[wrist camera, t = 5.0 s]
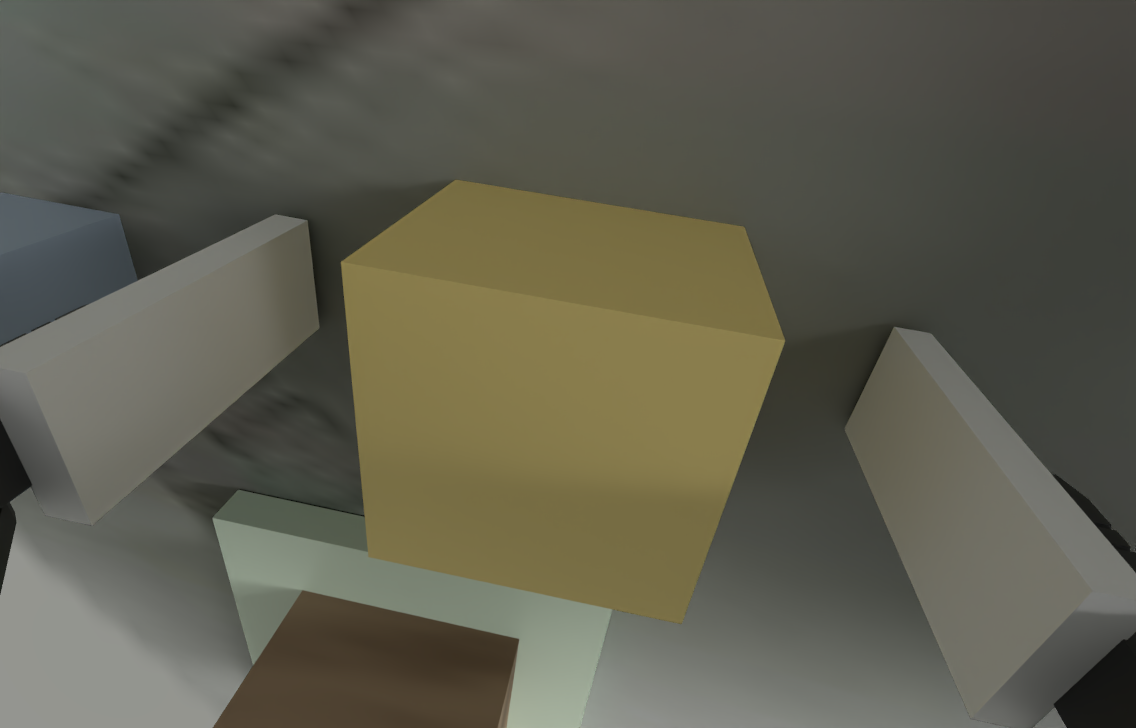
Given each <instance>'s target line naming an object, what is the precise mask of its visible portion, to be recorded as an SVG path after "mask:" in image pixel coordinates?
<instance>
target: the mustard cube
mask: <svg viewBox="0 0 1136 728" xmlns="http://www.w3.org/2000/svg"><path fill="white" fill-rule="evenodd" d="M341 270H342V281H343V291H344V302H345V313H346V323H347V334H348V345H349V355H350V366H351V377H352V387H353V398H354V408H355V419H356V430H357V440H358V451H359V462H360V472H361V483H362V494H363V504H364V515H365V526H366V536H367V547H368V557H370V558H375V559H380V560H384V561H389V562H394V563H398V564H403V565H408V566H412V567H417V568H422V569H426V570H431V571H436V572H440V573H445V574H450V575H454V576H459V577H464V578H468V579H473V580H478V581H482V582H487V583H492V584H496V585H501V586H506V587H510V588H515V589H520V590H524V591H529V592H534V593H538V594H543V595H548V596H552V597H557V598H562V599H566V600H571V601H576V602H580V603H585V604H590V605H594V606H599V607H603V608H608V609H613V610H617V611H622V612H627V613H631V614H636V615H641V616H645V617H650V618H655V619H659V620H664V621H669V622H673V623H678V624H682V622H683V619H684V616H685V613H686V611H687V608H688V605H689V603H690V600H691V597H692V594H693V592H694V589H695V586H696V583H697V581H698V578H699V575H700V573H701V570H702V567H703V564H704V562H705V559H706V556H707V553H708V551H709V548H710V545H711V543H712V540H713V537H714V534H715V532H716V529H717V526H718V523H719V521H720V518H721V515H722V513H723V510H724V507H725V504H726V502H727V499H728V496H729V493H730V491H731V488H732V485H733V482H734V480H735V477H736V474H737V472H738V469H739V466H740V463H741V461H742V458H743V455H744V452H745V450H746V447H747V444H748V442H749V439H750V436H751V433H752V431H753V428H754V425H755V422H756V420H757V417H758V414H759V412H760V409H761V406H762V403H763V401H764V398H765V395H766V392H767V390H768V387H769V384H770V382H771V379H772V376H773V373H774V371H775V368H776V365H777V362H778V360H779V357H780V354H781V351H782V349H783V346H784V343H785V338H784V336H783V333H782V330H781V327H780V324H779V322H778V319H777V316H776V313H775V311H774V308H773V305H772V302H771V299H770V297H769V294H768V291H767V288H766V286H765V283H764V280H763V277H762V274H761V272H760V269H759V266H758V263H757V261H756V258H755V255H754V252H753V249H752V247H751V244H750V241H749V238H748V236H747V233H746V230H745V227H742V226H736V225H730V224H724V223H718V222H712V221H706V220H700V219H694V218H687V217H681V216H675V215H669V214H663V213H657V212H651V211H645V210H639V209H633V208H626V207H620V206H614V205H608V204H602V203H596V202H590V201H584V200H578V199H571V198H565V197H559V196H553V195H547V194H541V193H535V192H529V191H523V190H516V189H510V188H504V187H498V186H492V185H486V184H480V183H474V182H468V181H461V180H454V181H453V182H452V183H450V184H449V185H447V186H446V187H445V188H443V189H442V190H440V191H439V192H438V193H436V194H435V195H434V196H432V197H431V198H429V199H428V200H427V201H425V202H424V203H422V204H421V205H420V206H418V207H417V208H415V209H414V210H413V211H411V212H410V213H408V214H407V215H406V216H404V217H403V218H401V219H400V220H399V221H397V222H396V223H394V224H393V225H392V226H390V227H389V228H387V229H386V230H385V231H383V232H382V233H380V234H379V235H378V236H376V237H375V238H373V239H372V240H371V241H369V242H368V243H367V244H365V245H364V246H362V247H361V248H360V249H358V250H357V251H355V252H354V253H353V254H351V255H350V256H348V257H347V258H346V259H344V260H343V261H341Z"/></svg>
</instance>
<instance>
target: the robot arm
mask: <svg viewBox="0 0 1136 728" xmlns="http://www.w3.org/2000/svg"><path fill="white" fill-rule="evenodd" d="M318 329H319V319H318V310H317V301H316V291H315V282H314V273H313V264H312V255H311V246H310V237H309V228H308V220H303V219H298V218H292V217H287V216H281V215H276V214H275V215H273V216H271V217H269V218H267V219H265V220H263V221H261V222H258V223H256V224H254V225H252V226H250V227H248V228H246V229H244V230H242V231H240V232H238V233H236V234H234V235H232V236H229V237H227V238H225V239H223V240H221V241H219V242H217V243H215V244H213V245H211V246H209V247H207V248H205V249H203V250H200V251H198V252H196V253H194V254H192V255H190V256H188V257H186V258H184V259H182V260H180V261H178V262H176V263H173V264H171V265H169V266H167V267H165V268H163V269H161V270H159V271H157V272H155V273H153V274H151V275H149V276H147V277H144V278H142V279H140V280H138V281H136V282H134V283H132V284H130V285H128V286H126V287H124V288H122V289H120V290H118V291H115V292H113V293H111V294H109V295H107V296H105V297H103V298H101V299H99V300H97V301H95V302H93V303H90V304H86V305H83V306H81V307H79V308H77V309H75V310H72V311H70V312H68V313H66V314H64V315H62V316H60V317H58V318H56V319H55V321H53V322H47V323H45V324H43V325H41V326H39V327H37V328H35V329H33V330H31V332H30V333H28V334H27V333H24V334H22V335H20V336H18V337H16V338H14V339H12V340H10V341H8V342H6V343H4V344H2V345H0V593H1V589H2V584H3V580H4V575H5V571H6V566H7V561H8V558H9V553H10V549H11V544H12V540H13V535H14V531H15V526H16V517H15V512H14V510H13V508H12V506H11V504H10V501H11V500H13V499H14V498H15V497H17V496H18V495H19V494H21V493H22V492H24V491H25V490H26V489H28V488H29V487H31V488H32V490H33V492H34V494H35V496H36V498H37V500H38V502H39V504H40V506H41V508H42V511H43V513H44V515H45V516H49V517H54V518H58V519H63V520H67V521H72V522H77V523H81V524H86V525H90V526H93V525H94V524H95V523H96V522H97V521H98V520H99V519H101V518H102V517H103V516H104V515H105V514H106V513H107V512H109V511H110V510H111V509H112V508H113V507H114V506H115V505H117V504H118V503H119V502H120V501H121V500H122V499H124V498H125V497H126V496H127V495H128V494H129V493H130V492H132V491H133V490H134V489H135V488H136V487H137V486H138V485H140V484H141V483H142V482H143V481H144V480H145V479H147V478H148V477H149V476H150V475H151V474H152V473H153V472H155V471H156V470H157V469H158V468H159V467H160V466H161V465H163V464H164V463H165V462H166V461H167V460H168V459H169V458H171V457H172V456H173V455H174V454H175V453H176V452H178V451H179V450H180V449H181V448H182V447H183V446H184V445H186V444H187V443H188V442H189V441H190V440H191V439H192V438H194V437H195V436H196V435H197V434H198V433H199V432H201V431H202V430H203V429H204V428H205V427H206V426H207V425H209V424H210V423H211V422H212V421H213V420H214V419H215V418H217V417H218V416H219V415H220V414H221V413H222V412H223V411H225V410H226V409H227V408H228V407H229V406H230V405H232V404H233V403H234V402H235V401H236V400H237V399H238V398H240V397H241V396H242V395H243V394H244V393H245V392H246V391H248V390H249V389H250V388H251V387H252V386H253V385H255V384H256V383H257V382H258V381H259V380H260V379H261V378H263V377H264V376H265V375H266V374H267V373H268V372H269V371H271V370H272V369H273V368H274V367H275V366H276V365H277V364H279V363H280V362H281V361H282V360H283V359H284V358H286V357H287V356H288V355H289V354H290V353H291V352H292V351H294V350H295V349H296V348H297V347H298V346H299V345H300V344H302V343H303V342H304V341H305V340H306V339H307V338H309V337H310V336H311V335H312V334H313V333H314V332H315V331H317V330H318ZM844 430H845V432H846V434H847V436H848V439H849V441H850V443H851V446H852V448H853V450H854V452H855V455H856V457H857V459H858V462H859V464H860V466H861V469H862V471H863V473H864V475H865V478H866V480H867V482H868V485H869V487H870V489H871V491H872V494H873V496H874V498H875V501H876V503H877V505H878V507H879V510H880V512H881V514H882V517H883V519H884V521H885V524H886V526H887V528H888V530H889V533H890V535H891V537H892V540H893V542H894V544H895V546H896V549H897V551H898V553H899V556H900V558H901V560H902V563H903V565H904V567H905V569H906V572H907V574H908V576H909V579H910V581H911V583H912V585H913V588H914V590H915V592H916V595H917V597H918V599H919V601H920V604H921V606H922V608H923V611H924V613H925V615H926V618H927V620H928V622H929V624H930V627H931V629H932V631H933V634H934V636H935V638H936V640H937V643H938V645H939V647H940V650H941V652H942V654H943V657H944V659H945V661H946V663H947V666H948V668H949V670H950V673H951V675H952V677H953V679H954V682H955V684H956V686H957V689H958V691H959V693H960V695H961V698H962V700H963V702H964V705H965V707H966V709H967V712H968V714H969V716H970V718H971V719H973V720H978V721H982V722H987V723H991V724H996V725H1000V726H1005V727H1009V728H1033V727H1034V726H1035V725H1036V724H1037V723H1038V722H1039V721H1040V720H1041V719H1042V718H1043V717H1044V716H1045V715H1047V714H1048V713H1049V712H1050V711H1051V710H1052V709H1053V708H1054V707H1055V708H1056V710H1057V711H1058V713H1059V715H1060V717H1061V718H1062V720H1063V722H1064V724H1065V725H1066V727H1067V728H1136V553H1135V552H1130V546H1129V545H1128V543H1127V542H1126V541H1125V540H1124V539H1123V538H1122V537H1121V536H1120V534H1119V533H1118V532H1117V531H1116V530H1111V524H1110V523H1109V522H1108V521H1107V520H1106V519H1105V518H1104V516H1103V515H1102V514H1101V513H1100V512H1099V511H1098V510H1097V509H1096V507H1095V506H1094V505H1093V504H1092V503H1091V502H1090V501H1089V499H1087V498H1086V497H1085V496H1083V495H1082V494H1081V493H1079V492H1078V491H1077V490H1075V489H1074V488H1073V487H1071V486H1070V485H1069V484H1067V483H1066V482H1065V481H1063V480H1062V479H1061V478H1059V477H1058V476H1057V475H1054V474H1051V473H1050V472H1049V471H1048V470H1047V468H1046V467H1045V466H1044V465H1043V464H1042V463H1041V461H1040V460H1039V459H1038V458H1037V457H1036V456H1035V454H1034V453H1033V452H1032V451H1031V450H1030V449H1029V447H1028V446H1027V445H1026V444H1025V443H1024V442H1023V440H1022V439H1021V438H1020V437H1019V436H1018V434H1017V433H1016V432H1015V431H1014V430H1013V429H1012V427H1011V426H1010V425H1009V424H1008V423H1007V422H1006V420H1005V419H1004V418H1003V417H1002V416H1001V415H1000V413H999V412H998V411H997V410H996V409H995V408H994V406H993V405H992V404H991V403H990V402H989V401H988V399H987V398H986V397H985V396H984V395H983V393H982V392H981V391H980V390H979V389H978V388H977V386H976V385H975V384H974V383H973V382H972V381H971V379H970V378H969V377H968V376H967V375H966V374H965V372H964V371H963V370H962V369H961V368H960V367H959V365H958V364H957V363H956V362H955V361H954V360H953V358H952V357H951V356H950V355H949V354H948V353H947V351H946V350H945V349H944V348H943V347H942V345H941V344H940V343H939V342H938V341H937V340H936V338H935V337H934V336H933V335H932V334H931V333H926V332H921V331H915V330H910V329H904V328H899V327H894V328H893V330H892V332H891V334H890V336H889V338H888V340H887V342H886V344H885V347H884V349H883V351H882V353H881V355H880V357H879V359H878V361H877V363H876V365H875V367H874V369H873V371H872V373H871V375H870V377H869V379H868V381H867V383H866V386H865V388H864V390H863V392H862V394H861V396H860V398H859V400H858V402H857V404H856V406H855V408H854V410H853V412H852V414H851V416H850V418H849V420H848V423H847V425H846V427H845V429H844Z"/></svg>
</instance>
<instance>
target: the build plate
mask: <svg viewBox="0 0 1136 728" xmlns="http://www.w3.org/2000/svg"><path fill="white" fill-rule="evenodd" d="M212 519H213V522H214V526H215V530H216V533H217V537H218V541H219V544H220V548H221V551H222V555H223V559H224V562H225V566H226V570H227V573H228V577H229V580H230V584H231V588H232V591H233V595H234V599H235V602H236V606H237V609H238V613H239V617H240V620H241V624H242V628H243V631H244V635H245V638H246V642H247V646H248V649H249V653H250V657H251V660H252V664H253V665H254V664H255V662H256V661H257V659H258V658H259V656H260V655H261V653H262V651H263V650H264V648H265V647H266V645H267V644H268V642H269V641H270V639H271V638H272V636H273V635H274V633H275V632H276V630H277V628H278V627H279V625H280V624H281V622H282V621H283V619H284V618H285V616H286V615H287V613H288V612H289V610H290V608H291V607H292V605H293V604H294V602H295V601H296V599H297V598H298V596H299V595H300V593H301V592H302V590H304V591H309V592H313V593H317V594H322V595H326V596H331V597H335V598H340V599H344V600H349V601H353V602H357V603H362V604H366V605H371V606H375V607H380V608H384V609H388V610H393V611H397V612H402V613H406V614H411V615H415V616H420V617H424V618H428V619H433V620H437V621H442V622H446V623H451V624H455V625H459V626H464V627H468V628H473V629H477V630H482V631H486V632H491V633H495V634H499V635H504V636H508V637H513V638H517V639H519V645H518V652H517V659H516V666H515V673H514V680H513V687H512V694H511V700H510V707H509V714H508V721H507V728H580V726H581V722H582V719H583V715H584V712H585V708H586V704H587V701H588V697H589V693H590V690H591V686H592V682H593V679H594V675H595V672H596V668H597V664H598V661H599V657H600V653H601V650H602V646H603V643H604V639H605V635H606V632H607V628H608V624H609V621H610V617H611V613H612V610H613V609H608V608H603V607H599V606H594V605H590V604H585V603H580V602H576V601H571V600H566V599H562V598H557V597H552V596H548V595H543V594H538V593H534V592H529V591H524V590H520V589H515V588H510V587H506V586H501V585H496V584H492V583H487V582H482V581H478V580H473V579H468V578H464V577H459V576H454V575H450V574H445V573H440V572H436V571H431V570H426V569H422V568H417V567H412V566H408V565H403V564H398V563H394V562H389V561H384V560H380V559H375V558H370V557H368V547H367V536H366V526H365V517H363V516H358V515H353V514H349V513H344V512H340V511H335V510H330V509H326V508H321V507H316V506H312V505H307V504H302V503H298V502H293V501H288V500H284V499H279V498H275V497H270V496H265V495H261V494H256V493H251V492H247V491H242V490H238V491H237V492H236V493H235V494H234V495H233V496H232V497H231V498H230V499H229V500H228V501H227V502H226V504H225V505H224V506H223V507H222V508H221V509H220V510H219V511H218V512H217V513H216V514H215V515H214V516H213V517H212Z"/></svg>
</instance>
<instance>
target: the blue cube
mask: <svg viewBox="0 0 1136 728" xmlns="http://www.w3.org/2000/svg"><path fill="white" fill-rule="evenodd" d="M136 281H138V279H137V276H136V272H135V269H134V265H133V262H132V258H131V255H130V251H129V248H128V244H127V241H126V237H125V234H124V230H123V227H122V223H121V220H120V216H119V214H115V213H109V212H104V211H99V210H93V209H88V208H82V207H77V206H72V205H66V204H61V203H56V202H50V201H45V200H39V199H34V198H29V197H23V196H18V195H13V194H7V193H2V192H0V345H2V344H4V343H6V342H8V341H10V340H12V339H14V338H16V337H18V336H20V335H22V334H24V333H27V334H28V333H30V332H31V330H33V329H35V328H37V327H39V326H41V325H43V324H45V323H47V322H53V321H55V319H56V318H58V317H60V316H62V315H64V314H66V313H68V312H70V311H72V310H75V309H77V308H79V307H81V306H83V305H86V304H90V303H93V302H95V301H97V300H99V299H101V298H103V297H105V296H107V295H109V294H111V293H113V292H115V291H118V290H120V289H122V288H124V287H126V286H128V285H130V284H132V283H134V282H136ZM29 488H30V487H29ZM26 490H27V489H26ZM22 493H23V492H22ZM19 495H20V494H19ZM15 498H16V497H15ZM11 501H12V500H11Z"/></svg>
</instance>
